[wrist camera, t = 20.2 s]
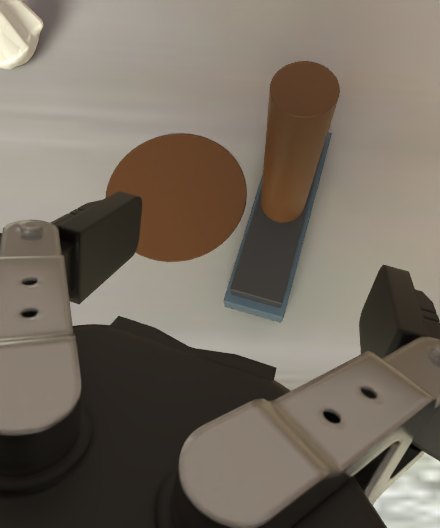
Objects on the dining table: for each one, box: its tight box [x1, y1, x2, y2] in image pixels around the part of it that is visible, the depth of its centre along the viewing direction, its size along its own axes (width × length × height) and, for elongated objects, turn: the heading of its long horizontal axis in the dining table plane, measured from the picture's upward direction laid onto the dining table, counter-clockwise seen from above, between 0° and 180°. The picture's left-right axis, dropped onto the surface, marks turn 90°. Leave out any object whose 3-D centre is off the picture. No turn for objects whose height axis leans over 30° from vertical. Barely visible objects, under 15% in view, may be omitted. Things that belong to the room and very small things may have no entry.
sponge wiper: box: [224, 61, 340, 322], centre depth 21 cm, size 4×13×13 cm, turn 163°
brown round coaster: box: [106, 134, 246, 262], centre depth 28 cm, size 10×10×1 cm
